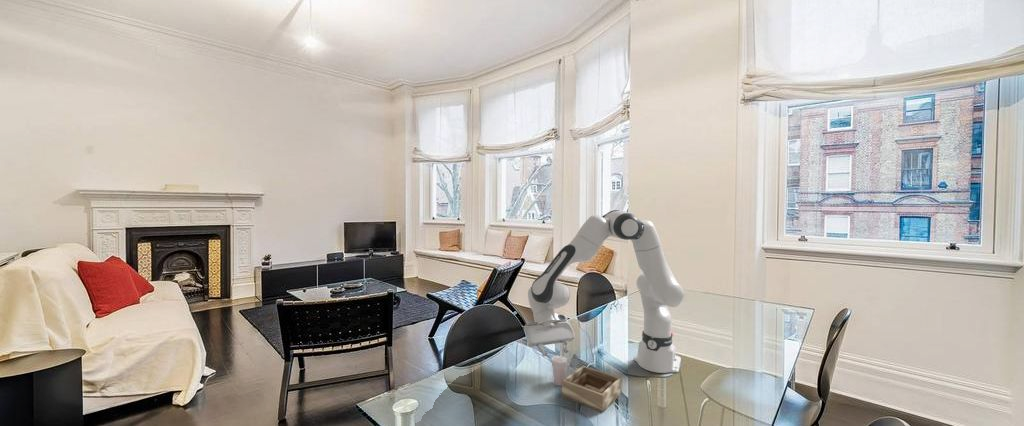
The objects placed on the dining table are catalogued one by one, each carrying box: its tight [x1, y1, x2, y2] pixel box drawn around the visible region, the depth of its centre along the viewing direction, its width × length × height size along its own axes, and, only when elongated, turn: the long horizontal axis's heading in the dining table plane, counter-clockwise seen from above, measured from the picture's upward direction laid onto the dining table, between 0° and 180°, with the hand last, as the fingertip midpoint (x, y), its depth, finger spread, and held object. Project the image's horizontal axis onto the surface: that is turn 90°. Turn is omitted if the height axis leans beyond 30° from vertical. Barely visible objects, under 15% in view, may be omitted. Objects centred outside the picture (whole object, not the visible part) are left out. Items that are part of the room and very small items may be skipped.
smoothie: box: [550, 347, 569, 387], centre depth 154 cm, size 6×6×14 cm
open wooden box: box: [561, 365, 623, 413], centre depth 146 cm, size 16×16×6 cm
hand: (556, 354), depth 157 cm, fingers open, 8 cm apart
